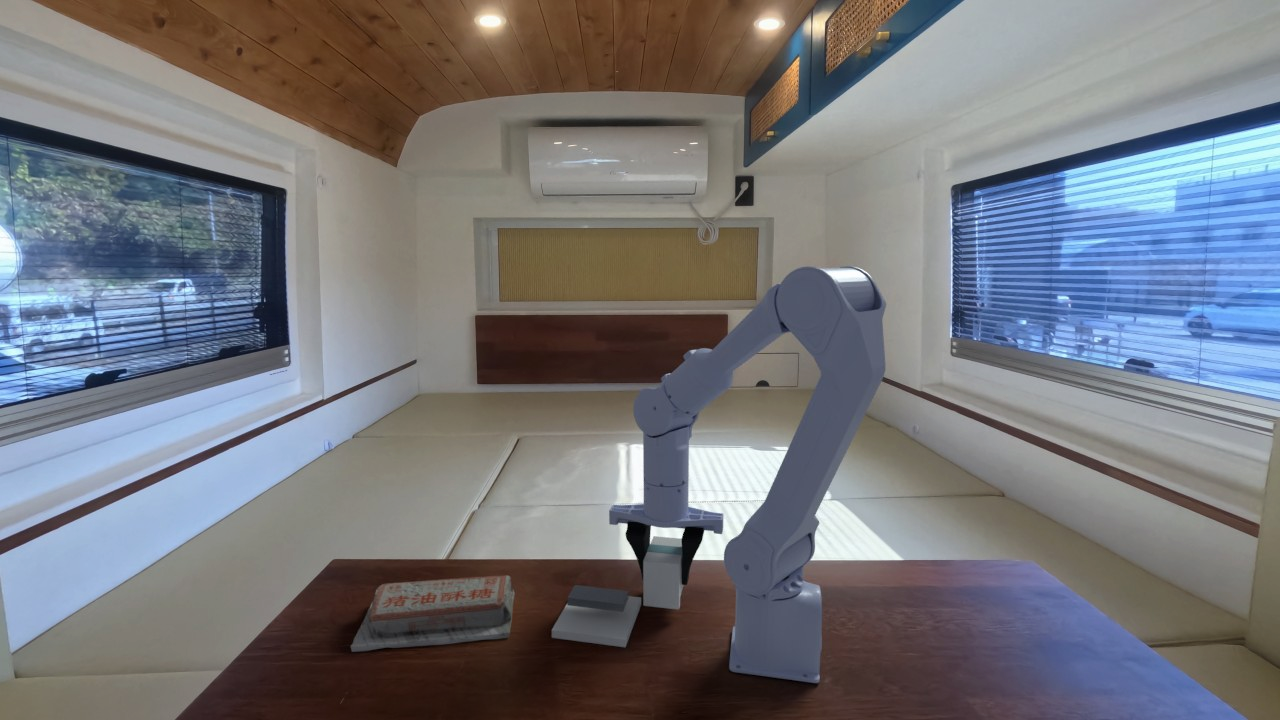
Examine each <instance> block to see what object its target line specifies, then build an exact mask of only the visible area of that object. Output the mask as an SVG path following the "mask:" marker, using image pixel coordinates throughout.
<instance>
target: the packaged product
mask: <svg viewBox="0 0 1280 720" xmlns="http://www.w3.org/2000/svg"><path fill="white" fill-rule="evenodd" d="M511 580H512V577H511V575H508V574H507V575H488V576H473V577H472V576H471V577H458V578H444V579H443V578H442V579H430V580H417V581H405V582H389V583H388V582H387V583H382V584H381V585H379V586H377V588H376V589H375V593H374V597H373V599H372V601H371V604H370V607H369V608H368V609H367V612H366V614H365V617H364V619H363V621H362V622H361V625H360V627H359V629H358V630H357V632H356V635H355V636H354V638H353V642H352V644H351V645H350V649H351V652H352V653H354V652H357V653H358V652H368V651H374V650H379V649H385V648H386V649H387V648H389V649H390V648H392V649H396V648H397V649H398V648H399V649H400V648H411V647H413V648H414V647H424V646H441V645H442V646H443V645H451V644H459V643H466V642H469V643H470V642H476V641H484V640H501V639H509V638H510V633H511V628H512V621H513V607H514V606H513V605H514V601H515V590H514V588H512V581H511Z"/></svg>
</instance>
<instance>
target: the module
mask: <svg viewBox="0 0 1280 720" xmlns="http://www.w3.org/2000/svg"><path fill="white" fill-rule="evenodd" d="M682 565H683V557H682V538H678V537H677V538H676V537H666V536H653V537H652V539H651V540H650V545H649V547H648V550H647V553H646V556H645V558H644V561H643V580H642V583H643V587H642V588H643V589H642V590H643V597H642V598H643V606H645V607H653V608H660V609H662V608H663V609H671V610H680V607H681V596H682V592H683V588H684V585H682Z"/></svg>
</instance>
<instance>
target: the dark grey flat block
mask: <svg viewBox="0 0 1280 720" xmlns="http://www.w3.org/2000/svg"><path fill="white" fill-rule="evenodd" d="M629 594H630V593H629V590H622V589H615V588H614V589H613V588H604V587H595V586H588V585H587V586H586V585H577V584H575V585H574V586H573V588H572V590H571V591H570V593H569V594H568V596H567V598H566V599H567V602H566V604H567V603H568V605H569V606H578V607H586V608H594V609H602V610H611V611H619V612H623V611H624V608H625V606H626V603H627V601H628V599H629V596H630V595H629Z"/></svg>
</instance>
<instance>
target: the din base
mask: <svg viewBox="0 0 1280 720" xmlns="http://www.w3.org/2000/svg"><path fill="white" fill-rule="evenodd" d="M641 607H642V597H639V596H631V595H629V599H628V601H627V603H626V606H625V608H624V611H623V612H619V611H611V610H602V609H594V608H586V607H578V606H569V605H568V603H567V602H566V604H565V606H564V608H563V610H562V611H561V613H560V615H559V616H558V619H557V620H556V621H555V623H554V625H553V627H552V629H551V638H552V639H559V640H566V641H567V640H568V641H575V642H582V643H589V644H590V643H591V644H597V645H604V646H614V647H619V648H626V647H627V645H628V642H629V639H630V636H631V634H632V630H633V628H634V625H635V623H636V619H637V618H638V614H639V612H640V609H641Z"/></svg>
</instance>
